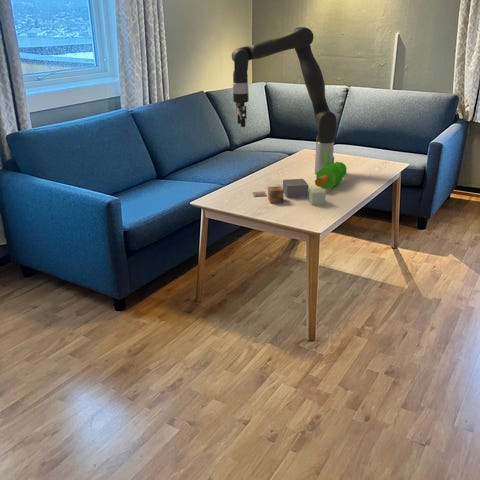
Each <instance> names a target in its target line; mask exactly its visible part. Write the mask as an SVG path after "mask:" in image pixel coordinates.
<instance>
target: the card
mask: <svg viewBox="0 0 480 480" xmlns="http://www.w3.org/2000/svg"><path fill="white" fill-rule="evenodd" d="M252 195H253V197H255V198H258V197H268V194H267V192H266V191H264V190H263V191H252Z"/></svg>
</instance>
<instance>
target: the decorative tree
mask: <svg viewBox="0 0 480 480" xmlns="http://www.w3.org/2000/svg"><path fill="white" fill-rule="evenodd" d="M347 169H348V168H347V165H346V164H345V163H344V162H341V161H334V163H333V164H332V165H331V164H329V165H327V166H325V167H324V168H321V169H320V170H319V171H318V172H317V174H315V176H316V179H315V180H314V185H316V187H318V188H322V189H325V190H331V189H332V188H333V187H335V186H337V185H339V184H340V183H341V182H342V181H343V177H344V176H346V175H347Z"/></svg>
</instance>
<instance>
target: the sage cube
mask: <svg viewBox="0 0 480 480" xmlns="http://www.w3.org/2000/svg"><path fill="white" fill-rule="evenodd" d="M326 195H327V193H326V190H324V188H321V187H318V188H308V202H309V203H310V205H311V206H325V205H326Z"/></svg>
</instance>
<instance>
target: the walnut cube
mask: <svg viewBox="0 0 480 480" xmlns="http://www.w3.org/2000/svg"><path fill="white" fill-rule="evenodd" d="M267 199H268V202H269V203H270V204H278V203H279V204H282V203H284V192H283V186H281V185H277V186H268V187H267Z"/></svg>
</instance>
